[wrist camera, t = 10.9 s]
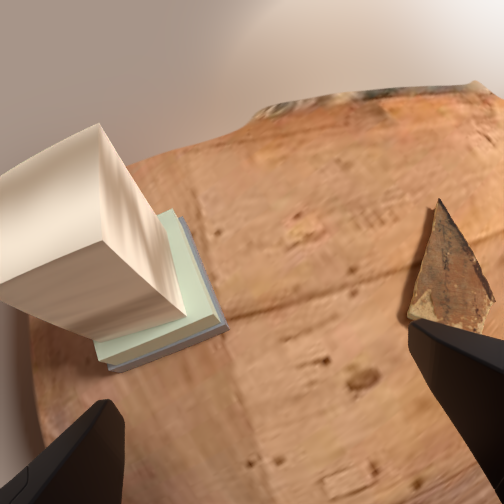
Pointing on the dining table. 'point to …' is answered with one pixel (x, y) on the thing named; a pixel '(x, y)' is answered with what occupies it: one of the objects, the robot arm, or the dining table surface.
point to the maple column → (84, 243)
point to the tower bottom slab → (191, 339)
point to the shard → (450, 279)
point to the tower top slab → (193, 297)
